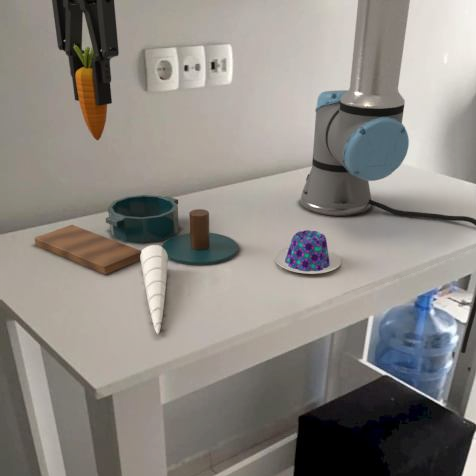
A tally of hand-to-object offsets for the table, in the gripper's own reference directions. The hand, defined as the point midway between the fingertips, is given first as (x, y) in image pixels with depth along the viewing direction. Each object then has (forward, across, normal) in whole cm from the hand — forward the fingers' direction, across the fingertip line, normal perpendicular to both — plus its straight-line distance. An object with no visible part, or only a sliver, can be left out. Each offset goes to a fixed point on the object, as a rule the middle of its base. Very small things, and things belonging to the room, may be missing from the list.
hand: (93, 101), depth 106 cm
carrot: (+6, 0, 0) cm, 6 cm away
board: (+25, 0, -5) cm, 26 cm away
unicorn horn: (+25, +23, -10) cm, 36 cm away
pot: (+25, 0, +9) cm, 27 cm away
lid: (+25, +15, +9) cm, 31 cm away
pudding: (+25, +34, +18) cm, 46 cm away
